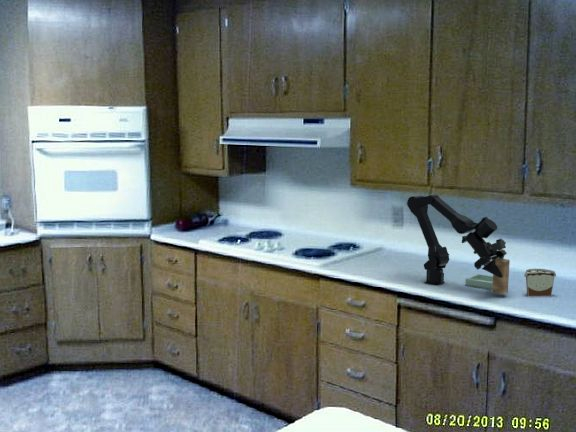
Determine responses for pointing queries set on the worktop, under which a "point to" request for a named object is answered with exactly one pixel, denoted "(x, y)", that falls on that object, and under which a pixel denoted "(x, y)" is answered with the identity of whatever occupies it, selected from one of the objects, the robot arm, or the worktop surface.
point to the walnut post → (502, 283)
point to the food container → (539, 282)
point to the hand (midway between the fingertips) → (504, 276)
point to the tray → (480, 281)
